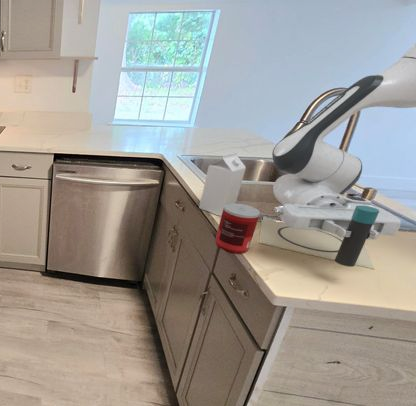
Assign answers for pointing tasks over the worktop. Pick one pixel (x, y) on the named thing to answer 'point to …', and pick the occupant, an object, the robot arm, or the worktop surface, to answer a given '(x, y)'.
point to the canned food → (236, 227)
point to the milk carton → (222, 184)
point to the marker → (356, 235)
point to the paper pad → (307, 241)
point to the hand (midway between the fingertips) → (360, 235)
